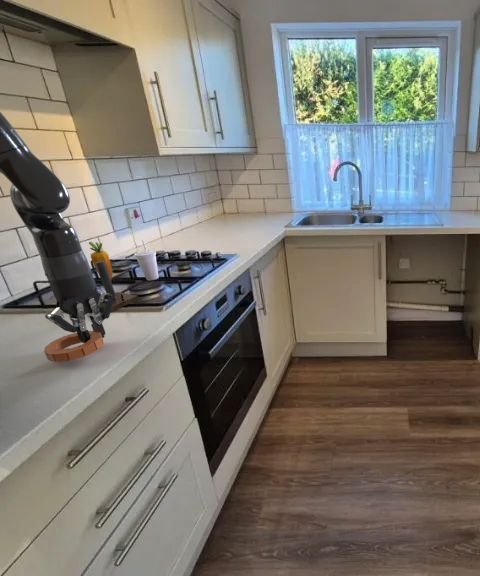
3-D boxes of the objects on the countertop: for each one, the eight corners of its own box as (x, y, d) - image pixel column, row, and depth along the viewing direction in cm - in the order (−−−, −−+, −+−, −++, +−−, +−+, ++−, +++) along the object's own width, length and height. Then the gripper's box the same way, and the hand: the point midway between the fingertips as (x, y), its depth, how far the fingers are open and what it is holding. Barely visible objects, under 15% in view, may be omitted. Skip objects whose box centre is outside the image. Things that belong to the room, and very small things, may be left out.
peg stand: (109, 312, 104) (93, 268, 98) (89, 308, 107) (72, 265, 101) (139, 299, 111) (125, 258, 106) (119, 296, 114) (105, 255, 109)
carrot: (120, 281, 126) (106, 240, 120) (105, 286, 122) (90, 244, 116) (112, 279, 128) (98, 238, 122) (97, 284, 124) (81, 242, 118)
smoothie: (166, 277, 129) (155, 239, 123) (147, 283, 124) (135, 244, 118) (157, 274, 132) (146, 237, 127) (138, 279, 127) (126, 241, 122)
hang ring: (66, 365, 76) (63, 357, 76) (37, 356, 80) (33, 349, 79) (113, 342, 85) (110, 334, 84) (85, 335, 88) (82, 328, 88)
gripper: (42, 285, 72) (72, 359, 79) (112, 264, 84) (133, 329, 90) (20, 281, 74) (51, 353, 81) (90, 261, 86) (112, 325, 93)
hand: (94, 340), depth 86 cm, fingers closed on hang ring, 2 cm apart
